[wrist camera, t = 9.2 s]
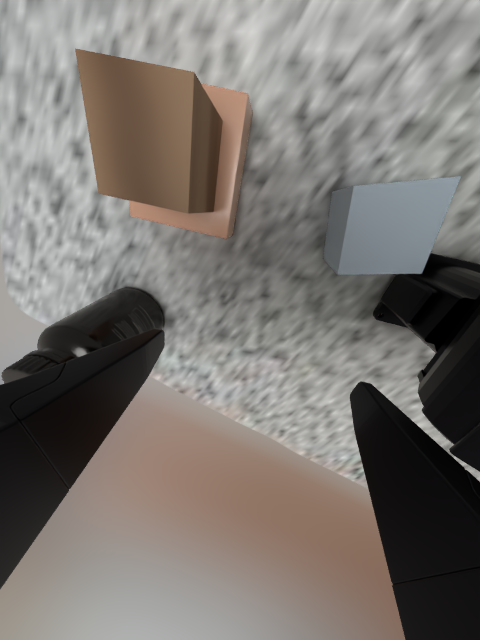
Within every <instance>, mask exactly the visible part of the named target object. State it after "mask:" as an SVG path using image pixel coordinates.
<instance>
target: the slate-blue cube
mask: <svg viewBox="0 0 480 640" xmlns="http://www.w3.org/2000/svg"><path fill="white" fill-rule="evenodd" d="M460 178H461V176H459V177H448V178H437V179H425V180H414V181H403V182H392V183H381V184H369V185H358V186H352V187H348V188H344V189H340V190H336V191H333V192H332V197H331V204H330V211H329V218H328V225H327V233H326V240H325V247H324V254H323V259H324V260H325V261H326V262H327V264H328V265H329V266H330V267H331V268H332V269H333V270H334V272H335V273H336V274H337V275H363V274H422V272H423V270H424V267H425V265H426V262H427V260H428V257H429V255H430V252H431V250H432V247H433V245H434V242H435V240H436V237H437V235H438V233H439V230H440V228H441V225H442V223H443V220H444V218H445V215H446V213H447V210H448V208H449V205H450V203H451V200H452V198H453V195H454V193H455V190H456V188H457V185H458V183H459V180H460Z"/></svg>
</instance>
